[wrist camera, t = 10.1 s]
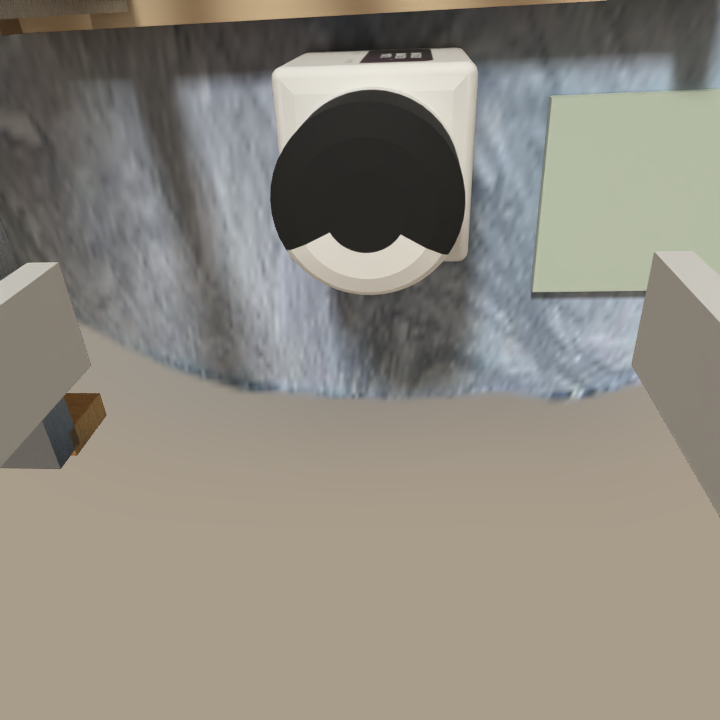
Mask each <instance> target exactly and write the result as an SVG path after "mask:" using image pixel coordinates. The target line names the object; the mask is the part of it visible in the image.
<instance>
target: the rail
mask: <svg viewBox="0 0 720 720" xmlns="http://www.w3.org/2000/svg"><path fill="white" fill-rule="evenodd" d="M587 1H605V0H128V5H129V10H130V12H114V13H97V14H81V15H65V16H48V17H32V18H16V19H0V35H10V34H20V33H37V32H54V31H72V30H90V29H108V28H125V27H143V26H161V25H179V24H196V23H214V22H232V21H250V20H268V19H285V18H303V17H321V16H339V15H356V14H374V13H392V12H410V11H428V10H445V9H463V8H481V7H499V6H516V5H534V4H552V3H570V2H587Z"/></svg>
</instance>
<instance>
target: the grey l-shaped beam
mask: <svg viewBox="0 0 720 720" xmlns="http://www.w3.org/2000/svg"><path fill="white" fill-rule="evenodd" d="M114 12H130V10H129V5H128V0H0V19H16V18H32V17H48V16H65V15H81V14H97V13H114ZM17 269H18V266H17V263H16V260H15V257H14V255H13V252H12V249H11V246H10V243H9V241H8V238H7V235H6V232H5V229H4V226H3V224H2V221H1V218H0V281H1V280H3V279H4V278H5V277H7V276H8V275H10V274H11V273H13V272H14V271H16V270H17ZM105 417H106V412H105V409H104V406H103V403H102V399H101V396H100V394H99V393H98V394H96V393H66V394H65V395H64V396H63V397H62V399H61V400H60V401H59V402H58V403H57V404H56V405H55V406H54V408H53V409H52V410H51V411H50V412H49V413H48V414H47V415H46V417H45V418H44V419H43V420H42V421H41V422H40V423H39V424H38V426H37V427H36V428H35V429H34V430H33V431H32V432H31V433H30V435H29V436H28V437H27V438H26V439H25V440H24V441H23V442H22V444H21V445H20V446H19V447H18V448H17V449H16V450H15V451H14V453H13V454H12V455H11V456H10V457H9V458H8V459H7V460H6V462H5V463H4V464H3V465H2V466H1V467H0V468H34V469H39V468H40V469H61V468H62V466H63V465H64V464H65V462H66V461H67V460H68V458H69V457H70V456H71V455H78V453H79V452H80V451H81V449H82V448H83V447H84V445H85V444H86V442H87V441H88V440H89V438H90V437H91V436H92V434H93V433H94V432H95V430H96V429H97V428H98V426H99V425H100V423H101V422H102V421H103V419H104V418H105Z"/></svg>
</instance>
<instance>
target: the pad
mask: <svg viewBox="0 0 720 720" xmlns="http://www.w3.org/2000/svg"><path fill="white" fill-rule="evenodd" d="M654 251H693V252H694V253H696V254H697V255H698V256H699V257H700V258H701V259H702V260H703V261H704V262H705V263H706V264H707V265H709V266H710V267H711V268H712V269H713V270H714V271H715V272H716V273H717V274H718V275H719V276H720V89H699V90H676V91H652V92H629V93H605V94H581V95H558V96H550V97H549V107H548V118H547V128H546V138H545V148H544V158H543V169H542V179H541V189H540V199H539V209H538V220H537V230H536V240H535V250H534V260H533V271H532V281H531V290H532V292H585V291H646V290H647V285H648V280H649V275H650V270H651V265H652V260H653V255H654Z"/></svg>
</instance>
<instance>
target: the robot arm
mask: <svg viewBox="0 0 720 720" xmlns="http://www.w3.org/2000/svg"><path fill="white" fill-rule="evenodd" d="M90 366H91V363H90V360H89V357H88V354H87V351H86V348H85V344H84V341H83V338H82V335H81V332H80V329H79V325H78V322H77V319H76V316H75V313H74V309H73V306H72V303H71V300H70V297H69V294H68V290H67V287H66V284H65V281H64V278H63V275H62V271H61V268H60V265H59V262H44V263H26V264H25V265H23V266H22V267H20V268H19V269H17V270H16V271H14V272H13V273H11V274H10V275H8V276H7V277H5V278H4V279H3V280H1V281H0V467H1V466H2V465H3V464H4V463H5V462H6V460H7V459H8V458H9V457H10V456H11V455H12V454H13V453H14V451H15V450H16V449H17V448H18V447H19V446H20V445H21V444H22V442H23V441H24V440H25V439H26V438H27V437H28V436H29V435H30V433H31V432H32V431H33V430H34V429H35V428H36V427H37V426H38V424H39V423H40V422H41V421H42V420H43V419H44V418H45V417H46V415H47V414H48V413H49V412H50V411H51V410H52V409H53V408H54V406H55V405H56V404H57V403H58V402H59V401H60V400H61V399H62V397H63V396H64V395H65V394H66V393H67V392H68V391H69V390H70V388H71V387H72V386H73V385H74V384H75V383H76V382H77V380H78V379H79V378H80V377H81V376H82V375H83V374H84V373H85V372H86V370H87V369H88V368H89V367H90ZM632 366H633V368H634V370H635V372H636V373H637V375H638V377H639V379H640V380H641V382H642V384H643V385H644V387H645V389H646V391H647V392H648V394H649V396H650V398H651V399H652V401H653V403H654V404H655V406H656V408H657V410H658V411H659V413H660V415H661V417H662V418H663V420H664V422H665V423H666V425H667V427H668V429H669V430H670V432H671V434H672V436H673V437H674V439H675V441H676V442H677V444H678V446H679V448H680V449H681V451H682V453H683V455H684V456H685V458H686V460H687V461H688V463H689V465H690V467H691V468H692V470H693V472H694V474H695V475H696V477H697V479H698V480H699V482H700V484H701V485H702V487H703V489H704V491H705V493H706V494H707V496H708V498H709V499H710V501H711V503H712V505H713V506H714V508H715V510H716V511H717V513H718V514H719V517H720V276H719V275H718V274H717V273H716V272H715V271H714V270H713V269H712V268H711V267H710V266H709V265H707V264H706V263H705V262H704V261H703V260H702V259H701V258H700V257H699V256H698V255H697V254H696V253H694V252H693V251H654V255H653V260H652V265H651V270H650V275H649V280H648V285H647V290H646V295H645V300H644V305H643V310H642V315H641V320H640V325H639V330H638V335H637V340H636V345H635V350H634V355H633V360H632Z"/></svg>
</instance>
